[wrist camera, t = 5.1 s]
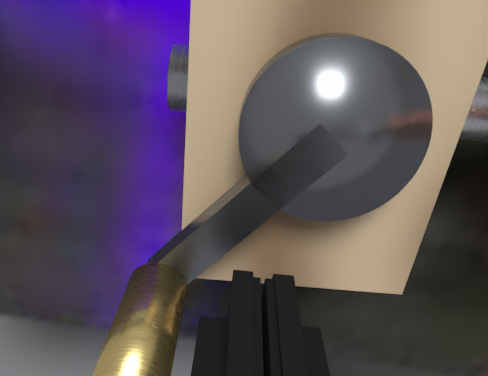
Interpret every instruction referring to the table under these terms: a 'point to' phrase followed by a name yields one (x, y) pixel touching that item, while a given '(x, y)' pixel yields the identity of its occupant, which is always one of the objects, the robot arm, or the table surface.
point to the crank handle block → (285, 175)
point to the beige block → (227, 129)
